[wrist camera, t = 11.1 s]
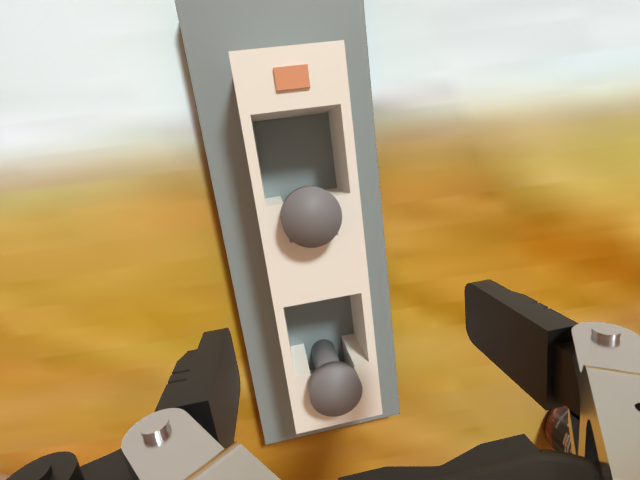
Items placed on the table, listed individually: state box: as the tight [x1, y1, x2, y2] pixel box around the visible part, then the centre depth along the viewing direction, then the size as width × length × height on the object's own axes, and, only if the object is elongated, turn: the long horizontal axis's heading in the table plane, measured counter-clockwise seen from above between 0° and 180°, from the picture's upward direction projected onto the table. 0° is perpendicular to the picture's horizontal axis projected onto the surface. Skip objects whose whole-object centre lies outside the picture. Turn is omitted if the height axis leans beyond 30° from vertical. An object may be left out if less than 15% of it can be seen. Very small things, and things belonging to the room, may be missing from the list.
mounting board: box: [175, 0, 400, 445], centre depth 21 cm, size 10×28×6 cm, turn 8°
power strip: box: [228, 40, 383, 434], centre depth 21 cm, size 5×21×4 cm, turn 8°
